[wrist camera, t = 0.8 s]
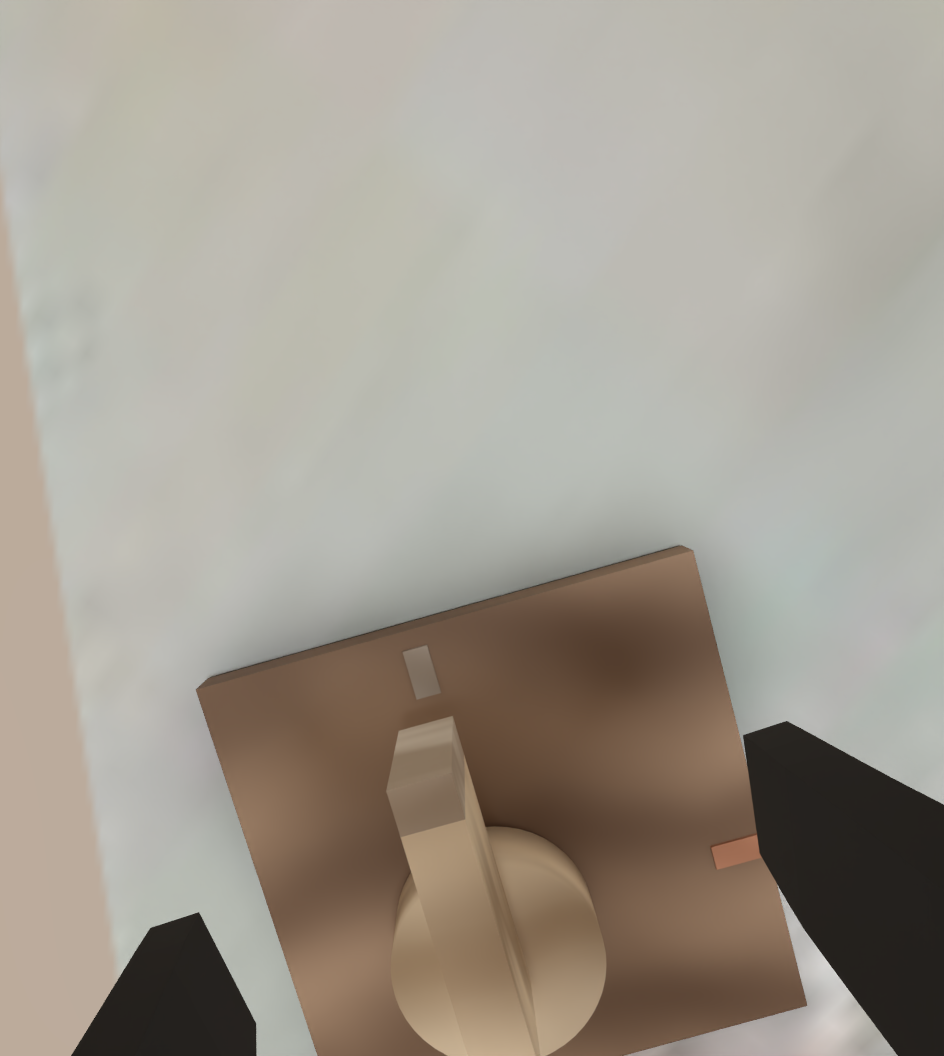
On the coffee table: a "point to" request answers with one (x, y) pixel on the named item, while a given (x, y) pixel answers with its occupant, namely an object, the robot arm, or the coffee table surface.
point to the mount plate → (519, 799)
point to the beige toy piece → (484, 916)
